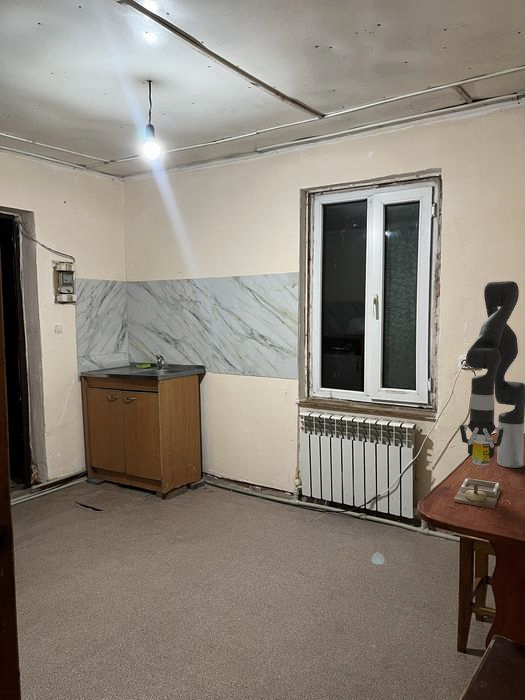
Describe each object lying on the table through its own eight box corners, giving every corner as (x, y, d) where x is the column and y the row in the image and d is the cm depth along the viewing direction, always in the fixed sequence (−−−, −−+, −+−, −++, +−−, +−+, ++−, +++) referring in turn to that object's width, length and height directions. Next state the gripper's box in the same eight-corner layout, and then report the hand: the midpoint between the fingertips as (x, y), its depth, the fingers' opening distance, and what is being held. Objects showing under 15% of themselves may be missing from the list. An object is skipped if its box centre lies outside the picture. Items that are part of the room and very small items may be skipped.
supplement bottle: (483, 467, 173) (484, 436, 172) (468, 463, 178) (469, 433, 177) (493, 464, 176) (494, 434, 175) (478, 460, 181) (479, 431, 180)
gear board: (464, 484, 185) (464, 469, 185) (501, 490, 179) (501, 474, 179) (453, 501, 169) (454, 485, 169) (494, 508, 163) (494, 491, 163)
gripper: (506, 407, 175) (505, 456, 176) (461, 403, 182) (460, 451, 184) (504, 410, 169) (502, 462, 170) (457, 407, 176) (456, 456, 177)
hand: (480, 456), depth 177 cm, fingers closed on supplement bottle, 5 cm apart
